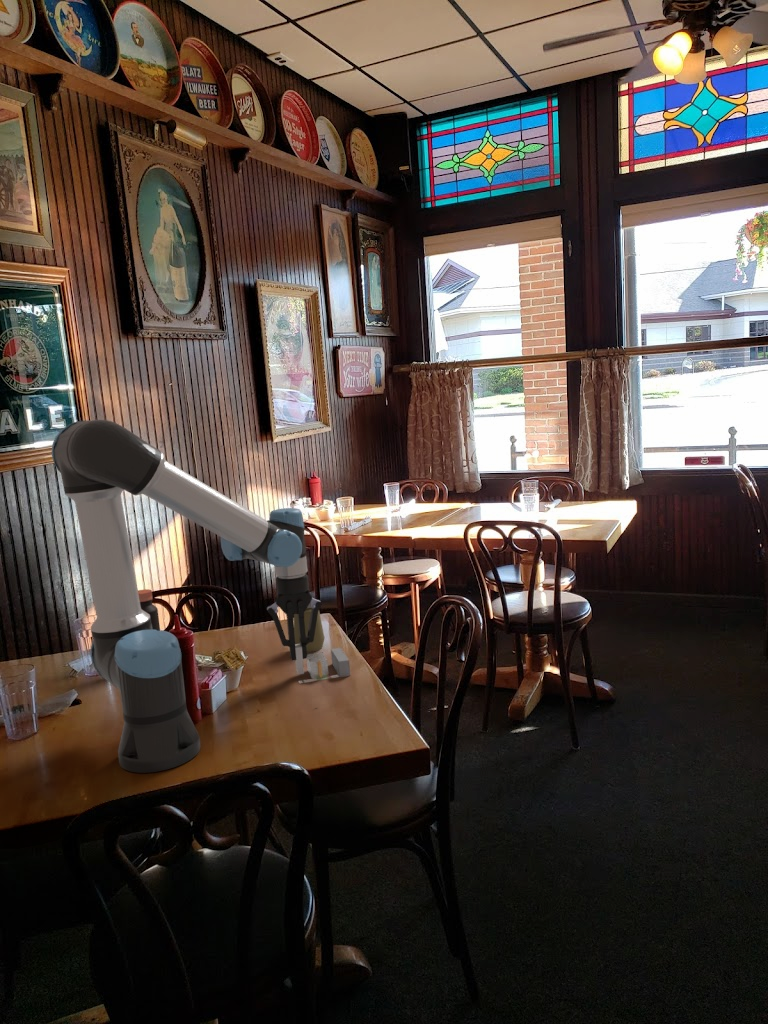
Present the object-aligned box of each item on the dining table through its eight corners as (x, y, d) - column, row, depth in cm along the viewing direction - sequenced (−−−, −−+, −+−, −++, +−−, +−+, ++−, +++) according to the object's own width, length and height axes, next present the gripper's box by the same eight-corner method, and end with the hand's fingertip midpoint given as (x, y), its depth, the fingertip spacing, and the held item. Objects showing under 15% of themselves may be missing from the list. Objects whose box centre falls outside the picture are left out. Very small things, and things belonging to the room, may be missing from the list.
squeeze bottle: (319, 658, 196) (313, 590, 193) (290, 657, 198) (283, 590, 196) (330, 648, 204) (324, 583, 201) (302, 647, 206) (296, 583, 203)
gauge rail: (350, 681, 178) (349, 660, 178) (287, 691, 175) (285, 670, 174) (342, 667, 188) (340, 647, 187) (281, 677, 184) (279, 656, 183)
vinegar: (132, 667, 200) (123, 593, 197) (155, 659, 205) (146, 587, 202) (146, 671, 196) (137, 596, 193) (169, 663, 201) (160, 590, 198)
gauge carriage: (329, 677, 178) (328, 661, 177) (312, 680, 177) (311, 664, 176) (324, 668, 185) (322, 652, 184) (307, 670, 184) (306, 654, 183)
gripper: (316, 568, 182) (324, 663, 185) (261, 575, 179) (270, 671, 182) (322, 574, 175) (330, 673, 178) (265, 581, 171) (274, 681, 175)
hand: (300, 672), depth 180 cm, fingers closed
